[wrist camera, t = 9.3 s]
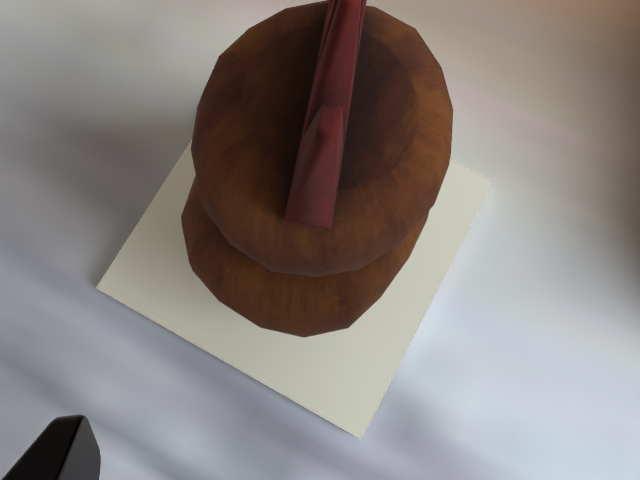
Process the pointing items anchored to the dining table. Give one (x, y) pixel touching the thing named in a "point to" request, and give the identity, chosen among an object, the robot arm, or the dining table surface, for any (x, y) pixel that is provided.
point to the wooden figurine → (315, 165)
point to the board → (280, 348)
